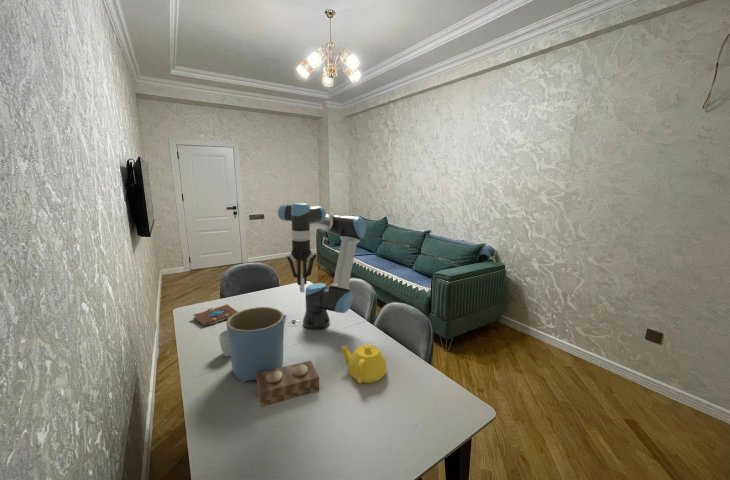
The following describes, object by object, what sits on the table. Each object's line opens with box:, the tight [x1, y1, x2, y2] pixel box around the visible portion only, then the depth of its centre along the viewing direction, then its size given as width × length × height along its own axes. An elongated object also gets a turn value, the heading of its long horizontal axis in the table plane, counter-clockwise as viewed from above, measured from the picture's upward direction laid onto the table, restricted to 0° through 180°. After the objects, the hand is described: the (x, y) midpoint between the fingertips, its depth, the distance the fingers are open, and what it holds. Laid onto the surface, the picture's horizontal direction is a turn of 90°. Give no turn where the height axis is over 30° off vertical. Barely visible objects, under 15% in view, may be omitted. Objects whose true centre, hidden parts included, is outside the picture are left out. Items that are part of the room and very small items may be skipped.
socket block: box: [256, 360, 320, 408], centre depth 120 cm, size 22×12×6 cm, turn 115°
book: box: [192, 303, 238, 328], centre depth 181 cm, size 16×25×5 cm, turn 140°
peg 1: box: [266, 371, 282, 384], centre depth 118 cm, size 6×6×7 cm
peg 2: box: [293, 365, 308, 377], centre depth 122 cm, size 6×6×7 cm
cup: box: [218, 329, 231, 357], centre depth 143 cm, size 8×8×10 cm
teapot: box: [341, 344, 387, 384], centre depth 130 cm, size 20×19×13 cm
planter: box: [226, 306, 285, 383], centre depth 131 cm, size 23×23×24 cm
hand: (302, 291), depth 135 cm, fingers closed
